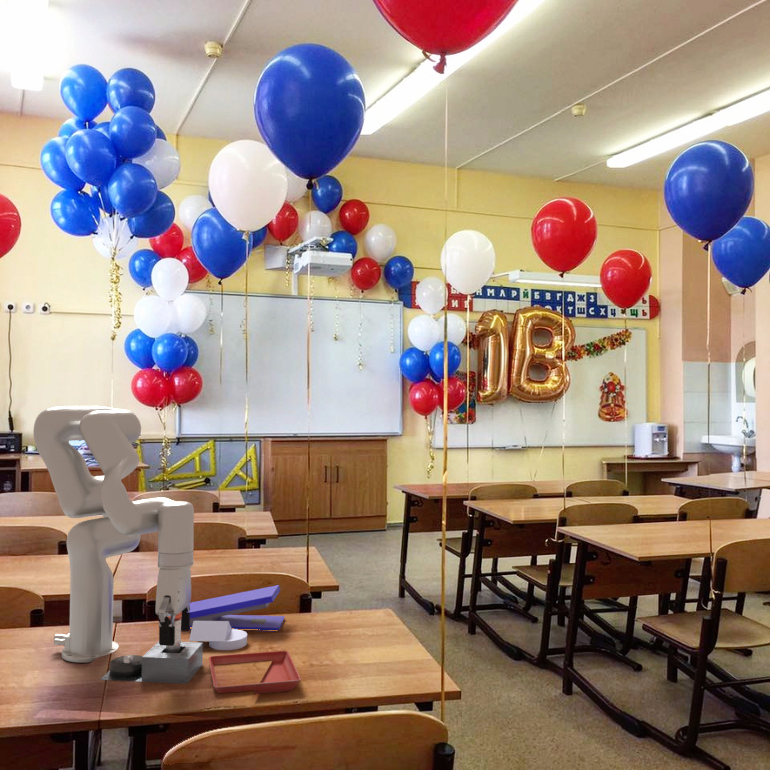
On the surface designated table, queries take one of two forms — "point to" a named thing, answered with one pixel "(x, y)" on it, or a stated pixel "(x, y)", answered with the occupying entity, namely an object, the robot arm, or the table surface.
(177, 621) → the pin
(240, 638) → the wedge on round base
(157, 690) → the table surface
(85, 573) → the robot arm
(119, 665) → the block
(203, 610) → the stapler
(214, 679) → the plant saucer
